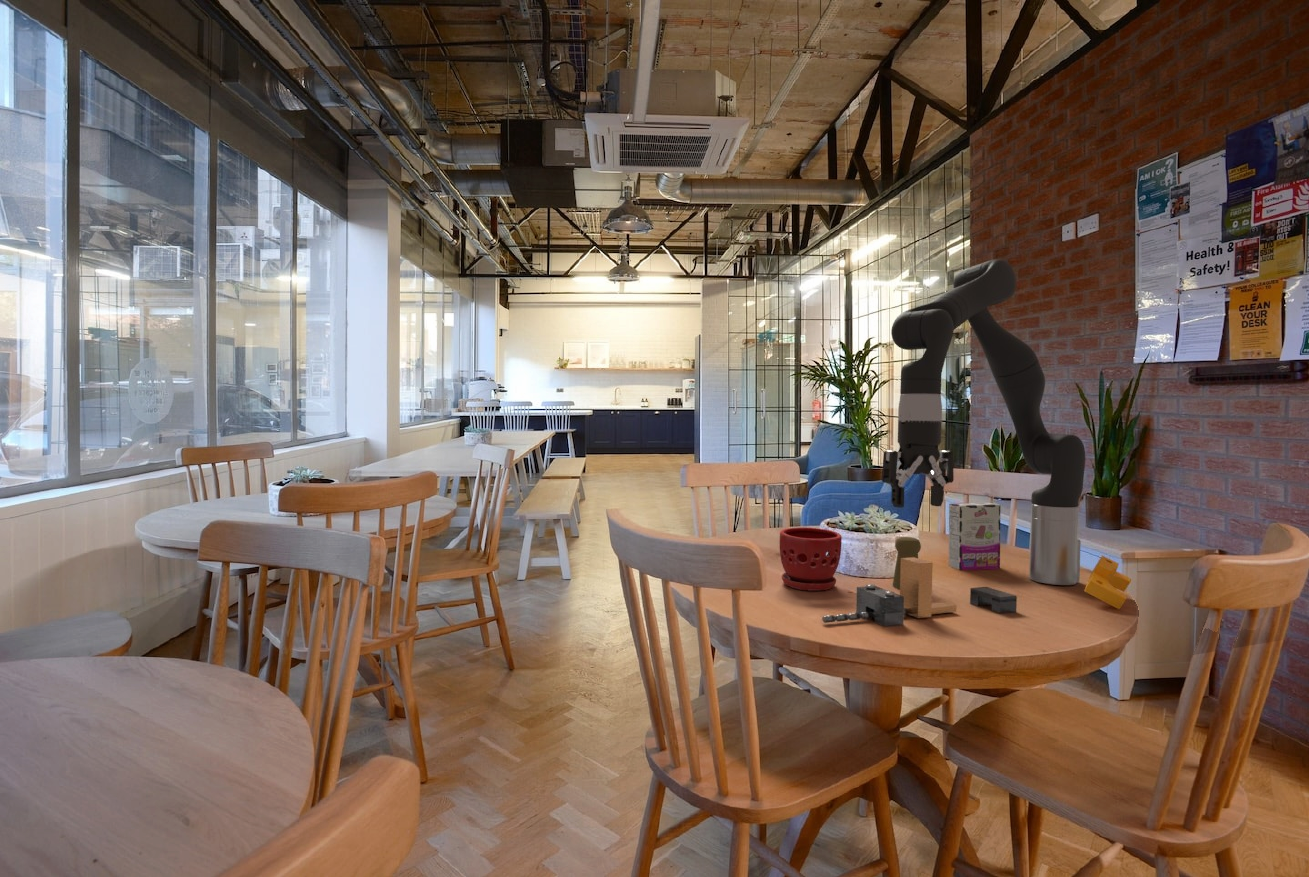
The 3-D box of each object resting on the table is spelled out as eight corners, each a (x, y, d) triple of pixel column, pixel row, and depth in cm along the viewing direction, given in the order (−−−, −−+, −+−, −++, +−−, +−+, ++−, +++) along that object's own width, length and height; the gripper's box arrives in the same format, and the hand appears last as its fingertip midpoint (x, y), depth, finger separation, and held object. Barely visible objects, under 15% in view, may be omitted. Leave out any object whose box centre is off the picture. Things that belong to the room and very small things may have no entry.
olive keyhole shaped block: (917, 585, 151) (918, 535, 151) (925, 591, 145) (926, 540, 145) (889, 584, 152) (890, 534, 151) (896, 590, 146) (897, 539, 145)
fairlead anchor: (874, 611, 129) (874, 582, 129) (903, 624, 121) (904, 593, 121) (856, 613, 128) (856, 583, 128) (884, 626, 120) (885, 594, 120)
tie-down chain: (942, 606, 132) (943, 555, 132) (961, 613, 128) (962, 560, 127) (814, 618, 123) (815, 563, 123) (830, 627, 118) (831, 569, 118)
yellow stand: (1102, 555, 144) (1135, 572, 141) (1091, 571, 146) (1124, 588, 142) (1095, 573, 135) (1131, 591, 131) (1084, 591, 136) (1119, 609, 133)
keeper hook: (985, 601, 137) (986, 586, 137) (1016, 611, 130) (1016, 595, 130) (970, 603, 136) (970, 588, 136) (1000, 613, 129) (1000, 597, 129)
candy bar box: (986, 567, 171) (988, 502, 170) (1000, 571, 166) (1002, 504, 165) (946, 568, 168) (948, 502, 168) (959, 573, 163) (961, 505, 163)
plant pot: (766, 585, 149) (767, 530, 149) (802, 576, 158) (803, 525, 157) (817, 597, 139) (818, 539, 139) (852, 587, 148) (853, 532, 148)
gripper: (936, 419, 132) (933, 503, 133) (874, 418, 127) (872, 505, 128) (965, 419, 125) (963, 508, 125) (901, 418, 120) (898, 510, 121)
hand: (917, 506), depth 127 cm, fingers open, 8 cm apart
